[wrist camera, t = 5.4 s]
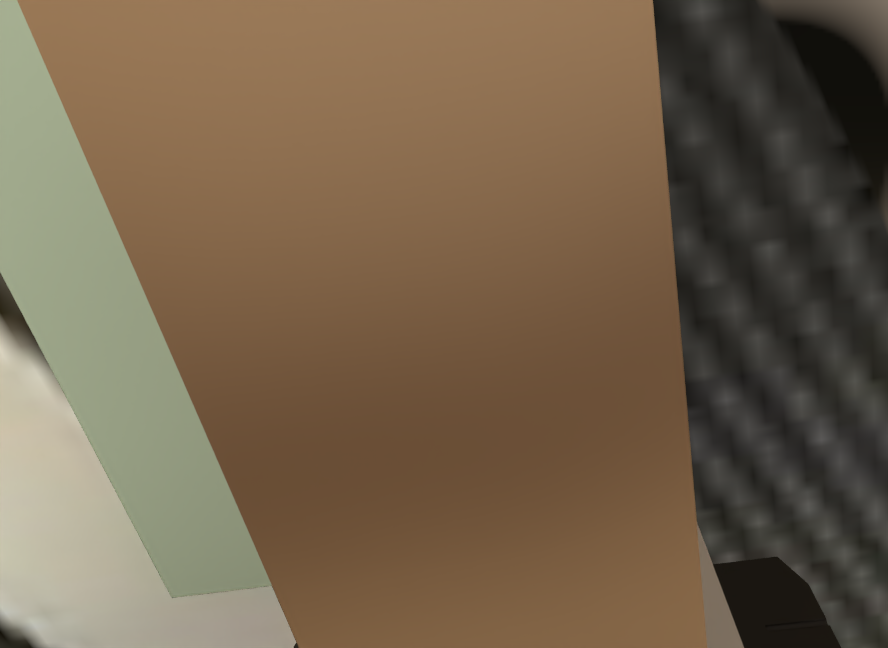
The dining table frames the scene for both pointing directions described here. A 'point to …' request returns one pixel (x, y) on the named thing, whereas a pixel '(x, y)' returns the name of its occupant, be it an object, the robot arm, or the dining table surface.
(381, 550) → the walnut bar
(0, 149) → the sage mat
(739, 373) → the dining table surface
